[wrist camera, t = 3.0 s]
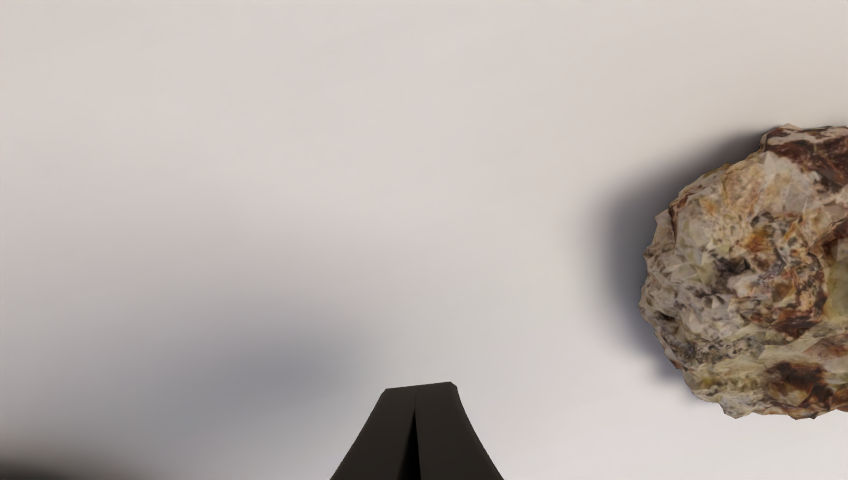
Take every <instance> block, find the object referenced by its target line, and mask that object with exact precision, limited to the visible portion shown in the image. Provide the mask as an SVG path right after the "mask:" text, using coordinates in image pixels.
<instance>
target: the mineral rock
mask: <svg viewBox="0 0 848 480" xmlns="http://www.w3.org/2000/svg"><path fill="white" fill-rule="evenodd" d="M759 144H760V147H761V148H760V149H759V150H758V151H757V152H754V153H751V154H750V155H749V156H748V157H747V158H746V159H745V160H743V161H740V162H738V163H736V164H731V163H725V164H724V165H722V166H721V167H720V168H716V169H714V170H711V171H709V172H707V173H705V174H702V175H701V176H700V177H699V178H698V179H697V180H696V181H695V182H694V183H692V184H689V185H687V186H686V187H684V188H683V189H682V190H681V191H680V192H679V195H678V198H677V199H675V200H673V201H672V202H670V203H669V207H668V209H666V210H664V211H662V212H661V213H659V214H658V215H657V216H655V219H656V222H657V228H656V231H655V235H654V238H653V241H652V244H651V246H647V248H646V250H645V252H644V254H643V256H644V258H645V260H646V262H647V273H648V275H647V278H646V280H645V283H644V285H643V286H642V287H641V299H640V301H639V304H638V308H639V310H640V313H641V315H642V317H643V318H644V320H646V321H647V322H649V323H650V324H652V325H653V327H654V328H655V329H656V332H655V335H656V336H657V338H658V339H659V341H660V342H661V344H662V346H663V348H664V349H665V350H664V354H665V355H666V356H667V357H668V359H669V360H670V361H671V362H672V363H673V364H674V366H675V367H676V368H677V369H682V373H683V377H684V380H685V382H686V384H687V385H688V386H689V387H690V389H691V391H692V393H693V394H694V395H696V396H697V397H698V398H699V399H701V400H704V401H706V402H717V403H719V404H720V406H721V407H722V408H723V411H724V414H727V415H729V416H731V417H733V418H735V419H736V418H739V417H743V416H746V415H749V414H750V413H751V412H754V413H757V414H761V415H768V414H780V415H789V416H790V417H792V418H793V419H795V420H798V419H804V418H812V419H815V418H816V417H817V416H820V415H822V414H825V413H827V412H830V411H833V410H835V409H838V410H840V411H844V412H848V128H847V127H845V126H843V127H831V126H827V127H825V128H813V129H808V130H802V129H801V128H798V127H796V126H793V125H791V124H786V125H784V126H781V127H778V128H776V129H774V130H772V131H769V132H767V133H765V134H764V135H763V136H762V138H761V140H760V142H759Z"/></svg>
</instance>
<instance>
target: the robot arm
mask: <svg viewBox="0 0 848 480" xmlns="http://www.w3.org/2000/svg"><path fill="white" fill-rule="evenodd" d="M330 480H504V479H503V478H502V476H501V475H500V473H499V472H498V470H497V468H496V467H495V465H494V464H493V462H492V460H491V459H490V457H489V455H488V454H487V452H486V450H485V449H484V447H483V445H482V444H481V442H480V440H479V438H478V437H477V435H476V433H475V431H474V429H473V427H472V425H471V423H470V421H469V419H468V417H467V415H466V413H465V410H464V408H463V406H462V403H461V400H460V397H459V394H458V390H457V386H456V385H454V384H453V383H452V382H443V383H434V384H425V385H416V386H407V387H398V388H389V389H386V390H385V391H384V392H383V393H382V394H381V396H380V398H379V400H378V401H377V403H376V405H375V407H374V409H373V411H372V412H371V414H370V416H369V418H368V420H367V421H366V423H365V425H364V427H363V428H362V430H361V432H360V433H359V435H358V437H357V438H356V440H355V442H354V443H353V445H352V446H351V448H350V450H349V451H348V453H347V454H346V456H345V457H344V459H343V461H342V462H341V464H340V465H339V467H338V468H337V470H336V471H335V473H334V474H333V476H332V477H331V479H330Z"/></svg>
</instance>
